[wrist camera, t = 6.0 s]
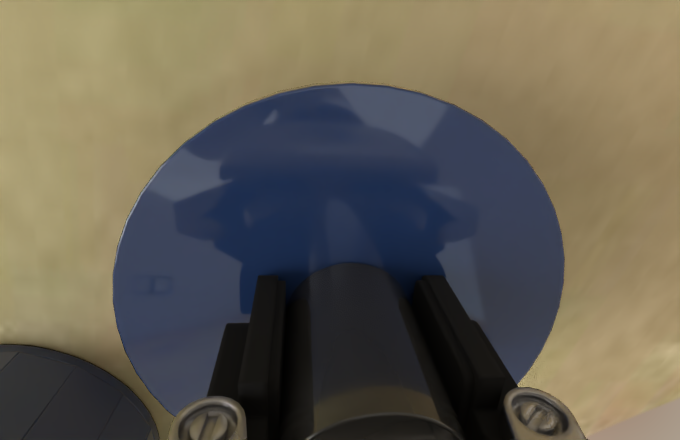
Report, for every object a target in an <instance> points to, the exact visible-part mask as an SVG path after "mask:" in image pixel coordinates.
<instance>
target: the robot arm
mask: <svg viewBox="0 0 680 440" xmlns="http://www.w3.org/2000/svg"><path fill="white" fill-rule="evenodd" d="M412 308H413V311H414V313H415V316H416V318H417V320H418V323H419V325H420V328H421V330H422V332H423V335H424V337H425V340H426V342H427V344H428V347H429V349H430V352H431V354H432V356H433V359H434V361H435V364H436V366H437V368H438V371H439V373H440V376H441V378H442V380H443V383H444V385H445V388H446V390H447V392H448V395H449V397H450V400H451V402H452V404H453V407H454V409H455V412H456V414H457V416H458V419H459V421H460V424H461V426H462V428H463V431H464V433H465V436H466V438H467V440H588V439H586V437H585V435H584V434H583V432H582V430H581V428H580V426H579V424H578V423H577V421H576V419H575V417H574V415H573V414H572V413H571V411H570V410H569V409H568V407H567V406H565V405H564V404H563V403H562V402H561V401H560V400H559V399H557V398H555V397H554V396H552V395H550V394H549V393H546V392H544V391H541V390H539V389H535V388H529V387H518V386H517V384H516V383H515V381H514V379H513V378H512V376H511V375H510V373H509V372H508V370H507V368H506V367H505V365H504V364H503V362H502V360H501V359H500V357H499V356H498V354H497V352H496V351H495V349H494V348H493V346H492V344H491V343H490V341H489V340H488V338H487V336H486V335H485V333H484V332H483V330H482V328H481V327H480V325H479V324H478V323H477V322H476V321H474V320H470V318H469V316H468V315H467V313H466V311H465V310H464V308H463V306H462V305H461V303H460V301H459V300H458V298H457V297H456V295H455V293H454V292H453V290H452V288H451V287H450V285H449V283H448V282H447V280H446V278H445V277H444V276H443V275H424V276H423V277H422V279H421V280H417V281H416V283H415V288H414V295H413V302H412ZM285 316H286V281H278V275H259V276H258V278H257V284H256V289H255V295H254V300H253V305H252V311H251V316H250V321H249V323H227V324H226V327H225V330H224V333H223V337H222V341H221V345H220V348H219V352H218V356H217V360H216V363H215V367H214V371H213V374H212V378H211V382H210V386H209V389H208V393H207V397H205V398H201V399H198V400H196V401H194V402H192V403H190V404H188V405H187V406H186V407H184V408H183V409H182V410H181V411H180V412H179V413H178V414H177V416H176V417H175V418H174V420H173V421H172V424H171V427H170V430H169V436H168V440H277V436H278V431H279V419H280V402H281V385H282V367H283V350H284V333H285Z"/></svg>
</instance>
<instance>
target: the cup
mask: <svg viewBox="0 0 680 440" xmlns="http://www.w3.org/2000/svg"><path fill="white" fill-rule="evenodd" d="M0 440H159V434H158V431H157V428H156V425H155V423H154V421H153V419H152V417H151V415H150V413H149V411H148V410H147V408H146V407H145V406H144V404H143V403H142V401H141V400H140V399H139V398H138V397H137V396H136V395H135V394H134V393H133V392H132V391H131V390H130V389H129V388H128V387H126V386H125V385H124V384H123V383H122V382H121V381H119V380H118V379H116V378H115V377H113V376H112V375H110V374H109V373H107V372H106V371H104V370H102V369H100V368H98V367H96V366H95V365H93V364H91V363H89V362H86V361H84V360H81V359H79V358H76V357H74V356H71V355H68V354H64V353H61V352H58V351H54V350H49V349H44V348H40V347H33V346H24V345H0Z"/></svg>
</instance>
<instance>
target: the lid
mask: <svg viewBox="0 0 680 440" xmlns="http://www.w3.org/2000/svg"><path fill="white" fill-rule="evenodd" d="M564 261H565V258H564V249H563V241H562V233H561V229H560V226H559V222H558V219H557V215H556V212H555V208H554V206H553V204H552V202H551V199H550V197H549V195H548V193H547V191H546V189H545V187H544V185H543V183H542V181H541V180H540V178H539V177H538V175H537V174H536V172H535V171H534V169H533V168H532V167H531V165H530V164H529V162H528V161H527V159H526V158H525V157H524V156H523V155H522V154H521V153H520V152H519V151H518V150H517V149H516V148H515V147H514V146H513V145H512V144H511V143H510V142H509V140H508V139H507V138H505V137H504V136H503V135H501V134H500V133H499V132H497V131H496V130H495V129H493V128H492V127H491V126H490V125H488V124H487V123H486V122H484V121H483V120H482V119H480V118H478V117H476V116H474V115H472V114H471V113H469V112H467V111H465V110H463V109H461V108H460V107H458V106H456V105H454V104H452V103H449V102H447V101H444V100H441V99H439V98H436V97H433V96H430V95H428V94H425V93H422V92H420V91H417V90H412V89H407V88H403V87H398V86H393V85H389V84H383V83H369V82H354V81H345V82H330V83H316V84H310V85H305V86H301V87H296V88H291V89H286V90H282V91H278V92H275V93H272V94H270V95H267V96H264V97H261V98H259V99H256V100H253V101H250V102H247V103H245V104H243V105H241V106H240V107H238V108H236V109H234V110H232V111H230V112H228V113H226V114H224V115H222V116H221V117H219V118H217V119H215V120H214V121H212V122H211V123H210V124H208V125H207V126H206V127H204V128H203V129H201V130H200V131H199V132H197V133H196V134H195V135H193V136H192V137H190V138H189V139H188V140H187V141H186V142H184V143H183V144H182V145H181V146H180V147H179V148H178V149H177V150H176V151H175V152H174V153H173V154H172V155H171V156H170V157H169V158H168V159H167V160H166V161H165V162H164V163H163V164H162V165H161V166H160V167H159V168H158V170H157V171H156V172H155V174H154V175H153V176H152V178H151V179H150V180H149V182H148V183H147V184H146V186H145V187H144V188H143V190H142V191H141V193H140V194H139V196H138V198H137V200H136V202H135V204H134V206H133V208H132V210H131V211H130V213H129V215H128V217H127V219H126V222H125V225H124V228H123V231H122V234H121V237H120V240H119V243H118V246H117V251H116V257H115V263H114V270H113V305H114V311H115V317H116V323H117V328H118V331H119V334H120V337H121V340H122V343H123V346H124V349H125V352H126V354H127V356H128V358H129V360H130V362H131V363H132V365H133V367H134V369H135V371H136V373H137V375H138V376H139V377H140V379H141V380H142V382H143V383H144V384H145V386H146V387H147V389H148V390H149V391H150V393H151V394H152V395H153V396H154V397H155V398H156V399H157V400H158V401H159V402H160V403H161V405H162V406H163V407H164V408H165V409H166V410H167V411H168V412H169V413H171V414H172V415H173V416H174V417H176V416H177V414H178V413H179V412H180V411H181V410H182V409H183V408H184V407H186V406H187V405H188V404H190V403H192V402H194V401H196V400H198V399H201V398H205V397H207V393H208V389H209V386H210V382H211V378H212V374H213V371H214V367H215V363H216V360H217V356H218V352H219V348H220V345H221V341H222V337H223V333H224V330H225V327H226V324H227V323H249V321H250V316H251V311H252V305H253V300H254V295H255V289H256V284H257V278H258V276H259V275H278V281H286V316H285V333H284V350H283V367H282V385H281V402H280V419H279V431H278V436H277V440H467V438H466V436H465V433H464V431H463V428H462V426H461V424H460V421H459V419H458V416H457V414H456V412H455V409H454V407H453V404H452V402H451V400H450V397H449V395H448V392H447V390H446V388H445V385H444V383H443V380H442V378H441V376H440V373H439V371H438V368H437V366H436V364H435V361H434V359H433V356H432V354H431V352H430V349H429V347H428V344H427V342H426V340H425V337H424V335H423V332H422V330H421V328H420V325H419V323H418V320H417V318H416V316H415V313H414V311H413V308H412V302H413V295H414V288H415V283H416V281H417V280H421V279H422V277H423V276H424V275H443V276H444V277H445V278H446V280H447V282H448V283H449V285H450V287H451V288H452V290H453V292H454V293H455V295H456V297H457V298H458V300H459V301H460V303H461V305H462V306H463V308H464V310H465V311H466V313H467V315H468V316H469V318H470V320H474V321H476V322H477V323H478V324H479V325H480V327H481V328H482V330H483V332H484V333H485V335H486V336H487V338H488V340H489V341H490V343H491V344H492V346H493V348H494V349H495V351H496V352H497V354H498V356H499V357H500V359H501V360H502V362H503V364H504V365H505V367H506V368H507V370H508V372H509V373H510V375H511V376H512V378H513V379H514V381H515V383H516V384H518V383H519V382H520V381H521V379H522V378H523V377H524V376H525V375H526V373H527V372H528V371H529V369H530V368H531V366H532V365H533V363H534V362H535V360H536V359H537V357H538V355H539V354H540V352H541V351H542V349H543V347H544V345H545V343H546V340H547V338H548V336H549V334H550V332H551V330H552V327H553V324H554V321H555V318H556V315H557V312H558V309H559V306H560V300H561V295H562V290H563V284H564Z"/></svg>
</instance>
